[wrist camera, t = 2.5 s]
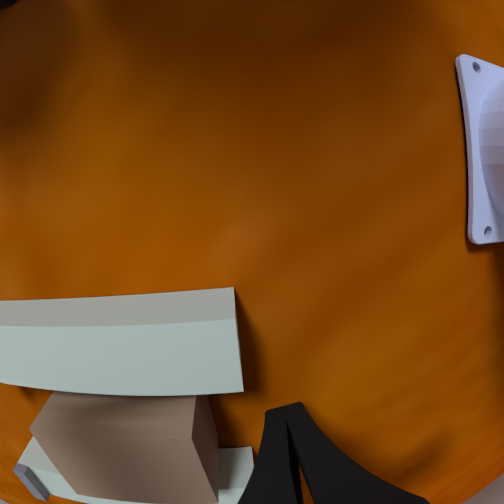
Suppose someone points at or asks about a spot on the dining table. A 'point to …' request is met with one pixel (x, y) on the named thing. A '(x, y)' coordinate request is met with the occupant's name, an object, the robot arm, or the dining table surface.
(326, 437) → the robot arm
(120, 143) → the dining table surface
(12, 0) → the battery
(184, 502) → the block
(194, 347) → the rails
